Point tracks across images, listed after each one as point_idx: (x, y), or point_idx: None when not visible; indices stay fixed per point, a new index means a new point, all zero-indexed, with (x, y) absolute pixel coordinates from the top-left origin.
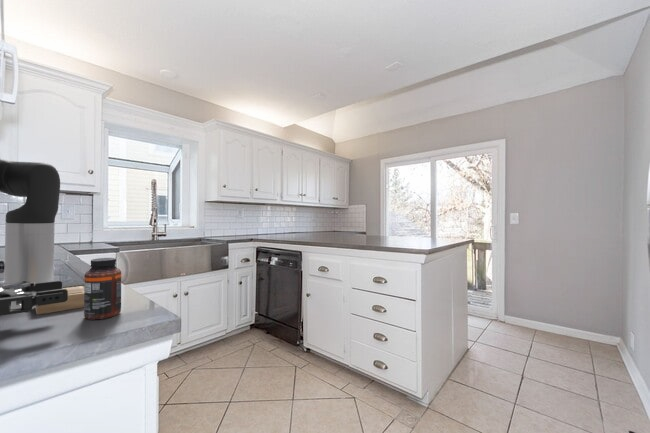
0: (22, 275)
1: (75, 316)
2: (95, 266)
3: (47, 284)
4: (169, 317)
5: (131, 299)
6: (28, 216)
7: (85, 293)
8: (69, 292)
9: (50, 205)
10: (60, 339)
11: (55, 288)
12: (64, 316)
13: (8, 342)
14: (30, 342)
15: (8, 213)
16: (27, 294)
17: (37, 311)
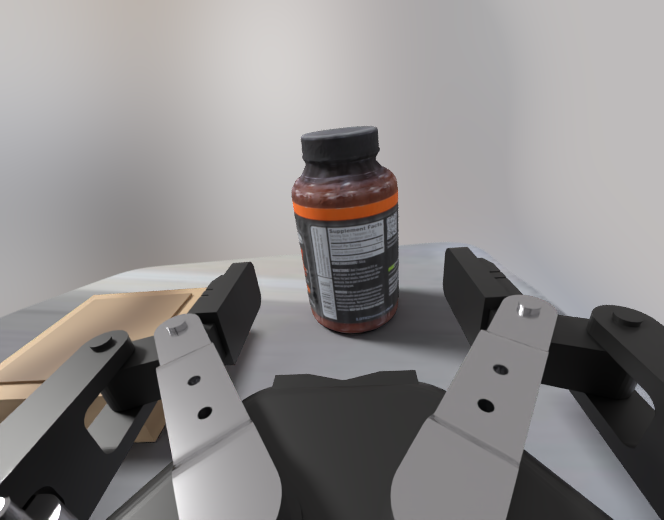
0: None
1: (305, 351)
2: (367, 155)
3: (237, 293)
4: (458, 244)
5: (255, 268)
6: None
7: (360, 262)
8: (153, 315)
9: None
10: (558, 392)
11: (253, 297)
12: (276, 372)
13: None
14: (569, 475)
15: None
16: (552, 324)
17: (151, 431)
